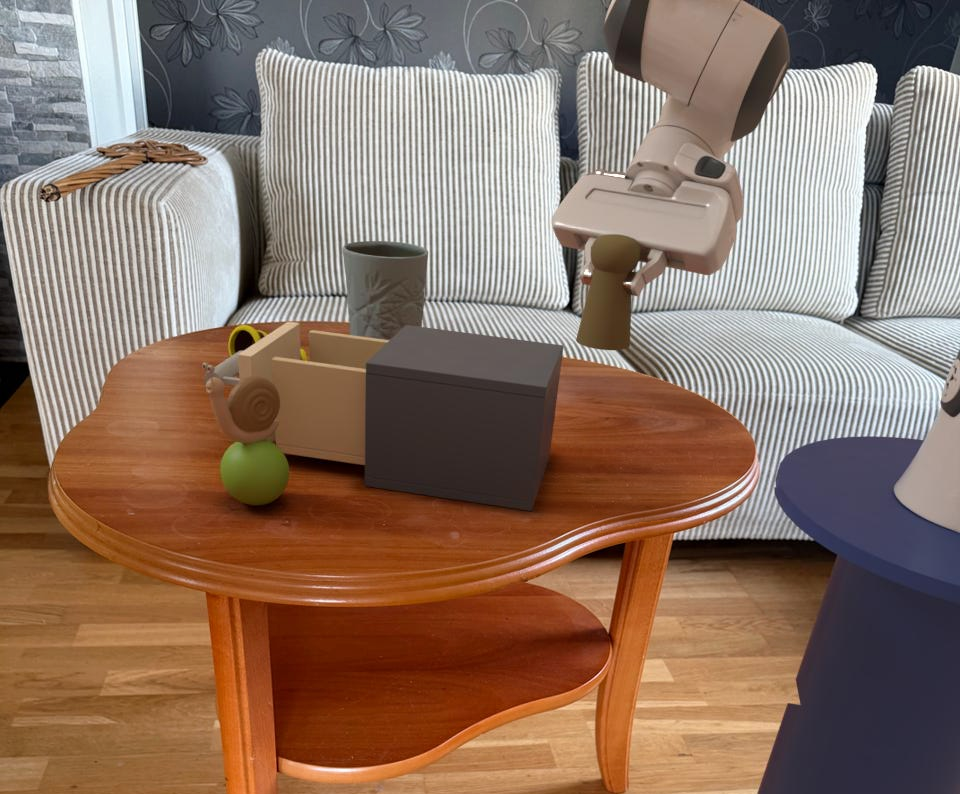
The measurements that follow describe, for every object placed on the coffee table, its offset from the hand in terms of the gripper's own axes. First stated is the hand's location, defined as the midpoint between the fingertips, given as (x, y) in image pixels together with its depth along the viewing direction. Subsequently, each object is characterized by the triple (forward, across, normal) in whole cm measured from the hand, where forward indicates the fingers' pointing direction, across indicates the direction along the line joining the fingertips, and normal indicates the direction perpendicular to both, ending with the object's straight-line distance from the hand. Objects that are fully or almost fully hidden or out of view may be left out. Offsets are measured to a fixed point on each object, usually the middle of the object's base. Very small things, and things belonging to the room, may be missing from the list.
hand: (608, 286), depth 96 cm
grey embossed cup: (+12, -28, +5) cm, 31 cm away
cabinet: (+28, +3, -11) cm, 30 cm away
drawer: (+32, -10, -16) cm, 37 cm away
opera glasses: (+24, -29, -7) cm, 39 cm away
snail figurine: (+41, -5, -24) cm, 48 cm away
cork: (+4, 0, +5) cm, 6 cm away
